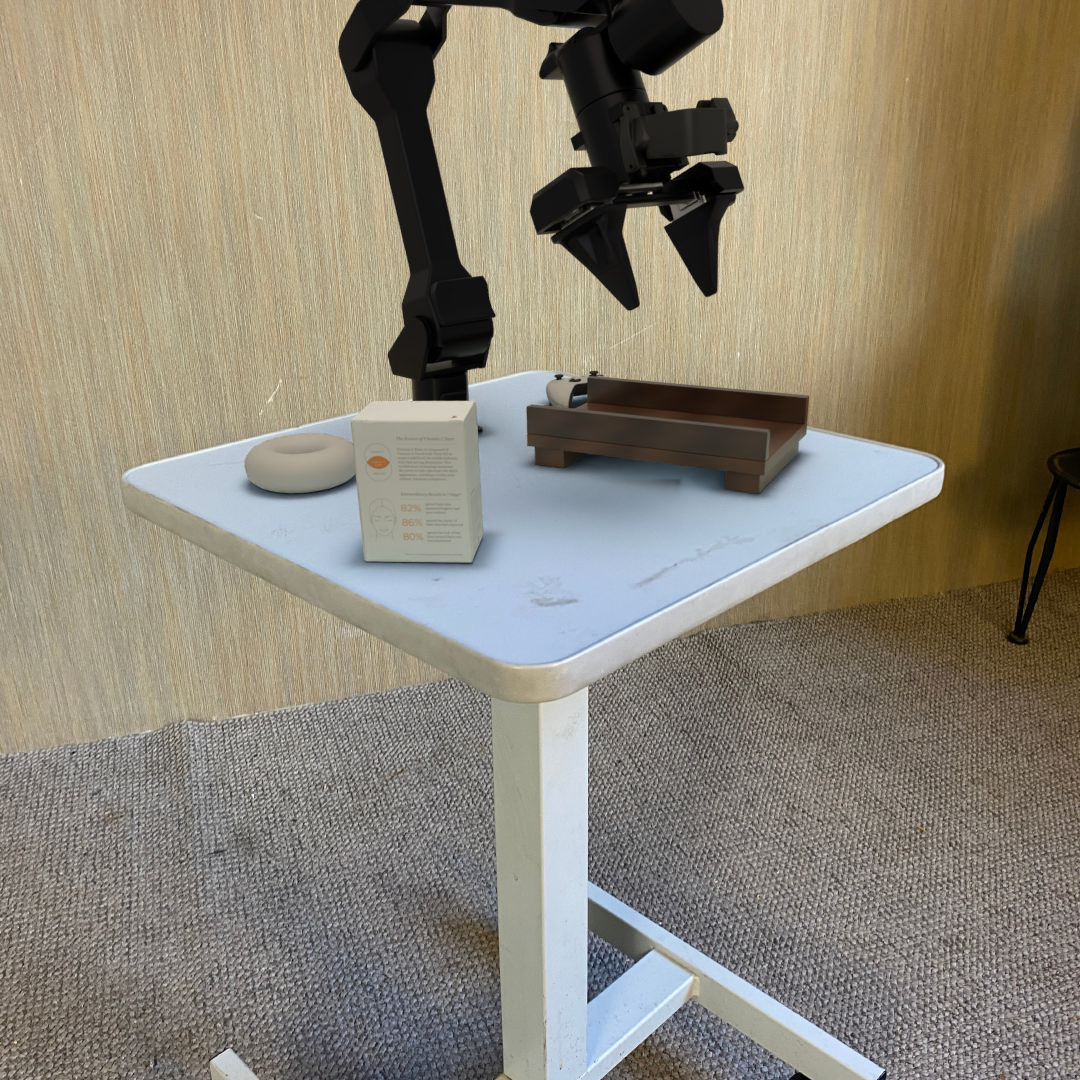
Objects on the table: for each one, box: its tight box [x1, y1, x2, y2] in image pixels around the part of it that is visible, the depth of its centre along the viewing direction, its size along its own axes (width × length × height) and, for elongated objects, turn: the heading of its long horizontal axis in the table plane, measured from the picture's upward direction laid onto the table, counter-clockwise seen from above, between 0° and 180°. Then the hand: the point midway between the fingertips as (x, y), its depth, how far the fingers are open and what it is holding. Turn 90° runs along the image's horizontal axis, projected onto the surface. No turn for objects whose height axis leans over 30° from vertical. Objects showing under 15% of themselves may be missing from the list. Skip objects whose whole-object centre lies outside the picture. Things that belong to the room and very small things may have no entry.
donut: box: [243, 432, 356, 494], centre depth 92 cm, size 10×4×10 cm
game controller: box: [545, 370, 606, 409], centre depth 117 cm, size 10×5×6 cm
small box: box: [350, 400, 484, 564], centre depth 75 cm, size 8×6×10 cm
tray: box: [525, 376, 810, 495], centre depth 96 cm, size 22×14×6 cm, turn 63°
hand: (674, 301), depth 81 cm, fingers open, 9 cm apart
